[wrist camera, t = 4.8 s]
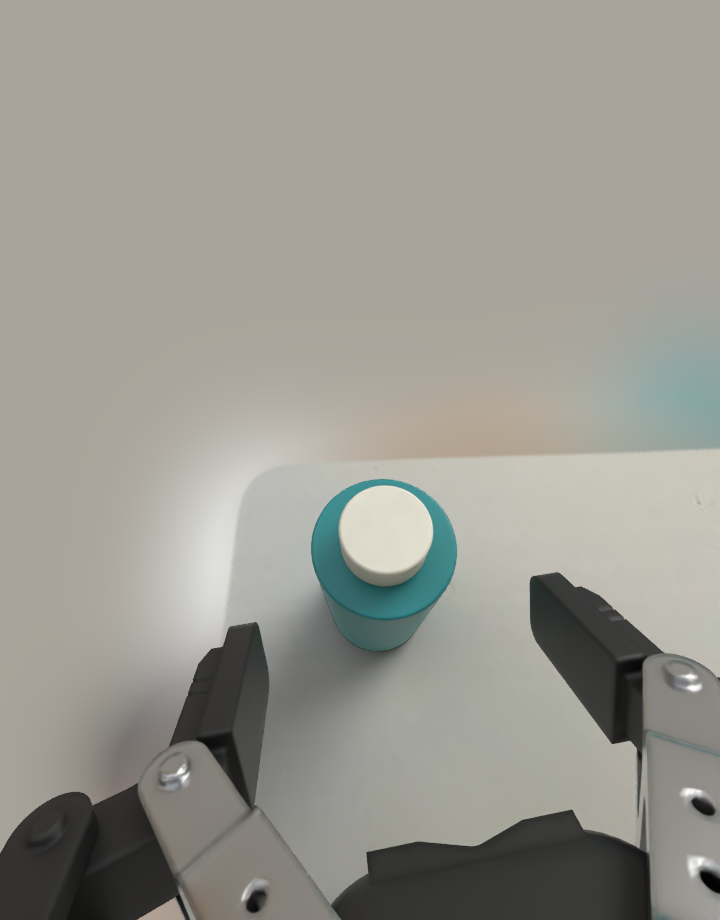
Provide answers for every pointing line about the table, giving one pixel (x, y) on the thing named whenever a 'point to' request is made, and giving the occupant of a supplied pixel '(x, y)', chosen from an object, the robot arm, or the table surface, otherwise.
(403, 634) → the water bottle
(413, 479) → the table surface
